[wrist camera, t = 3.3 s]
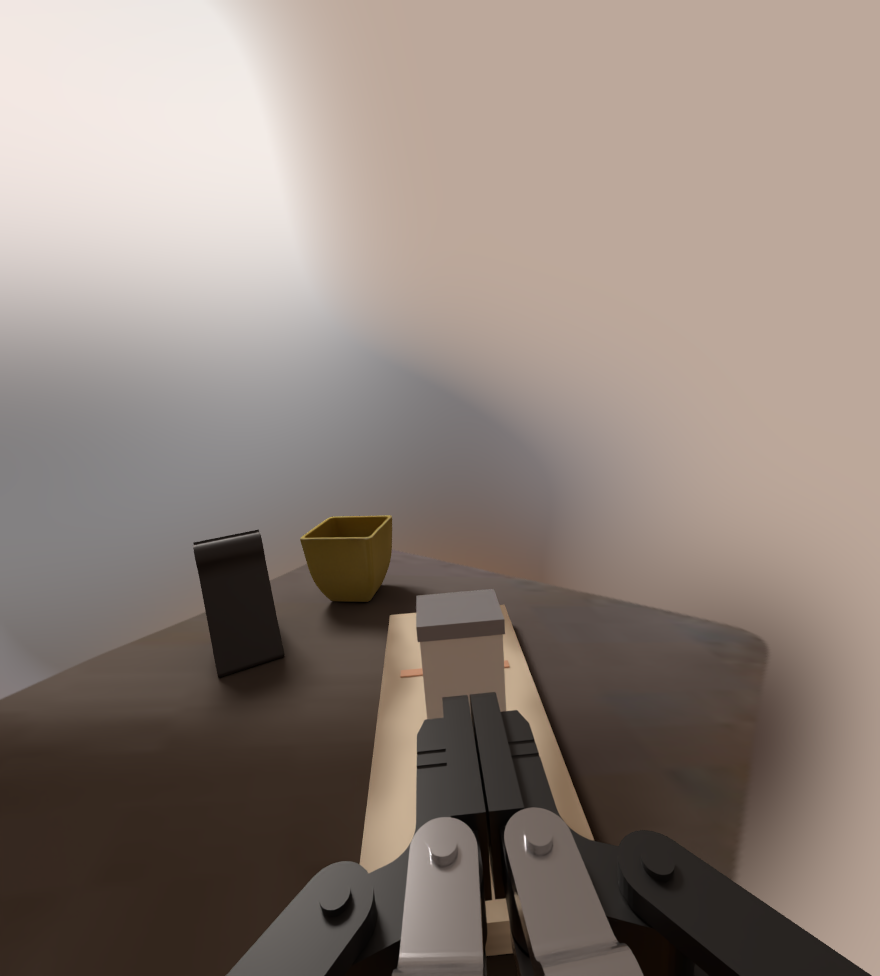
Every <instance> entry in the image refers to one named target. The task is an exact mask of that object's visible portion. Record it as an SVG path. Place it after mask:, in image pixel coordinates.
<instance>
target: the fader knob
mask: <svg viewBox="0 0 880 976" xmlns="http://www.w3.org/2000/svg"><path fill="white" fill-rule="evenodd" d="M416 630H417V640H418V642H420V649H421V659H422V670H423V681H424V691H425V702H426V712H427V719H435V718H444V717H443V702H442V697H450V696H460V695H468V700H469V706H470V694H479V693H489V692H496V695H497V699H498V703H499V708H500V712H503V711H506V696H505V674H504V651H503V634H505V620H504V617H503V614H502V611H501V608H500V605H499V603H498V600H497V597H496V594H495V591H494V589H487V590H476V591H465V592H453V593H442V594H431V595H419V596H417V601H416ZM470 713H471V708H470Z"/></svg>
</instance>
